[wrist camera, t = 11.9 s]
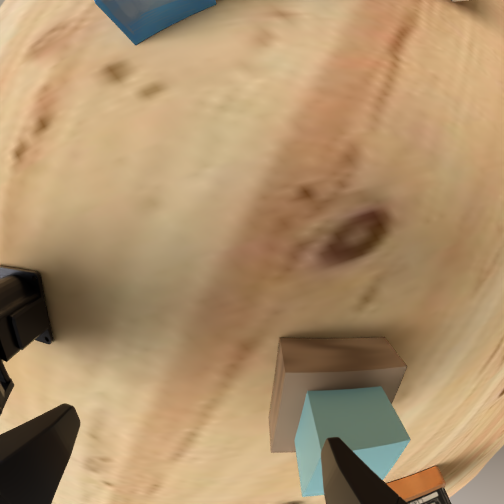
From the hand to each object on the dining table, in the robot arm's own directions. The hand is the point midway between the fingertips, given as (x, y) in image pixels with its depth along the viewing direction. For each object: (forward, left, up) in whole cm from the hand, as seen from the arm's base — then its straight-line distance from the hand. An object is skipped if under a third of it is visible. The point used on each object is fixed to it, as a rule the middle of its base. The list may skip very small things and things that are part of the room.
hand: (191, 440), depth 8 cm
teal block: (+8, -6, -7) cm, 12 cm away
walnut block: (+8, -6, -11) cm, 15 cm away
